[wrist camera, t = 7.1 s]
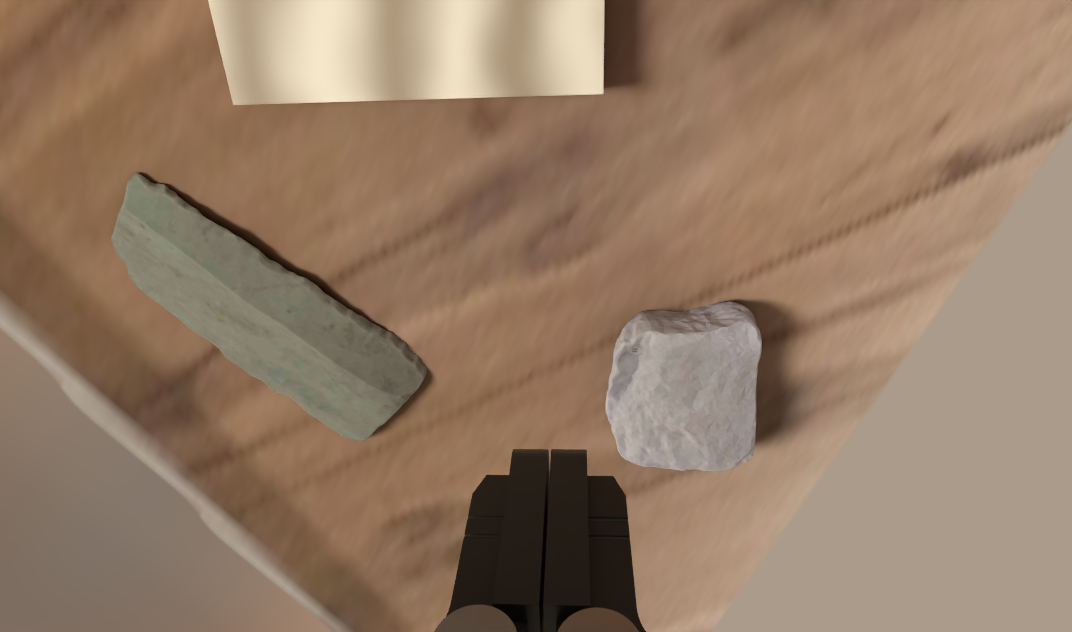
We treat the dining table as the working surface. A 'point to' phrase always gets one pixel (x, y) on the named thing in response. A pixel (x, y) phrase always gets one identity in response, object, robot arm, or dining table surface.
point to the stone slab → (264, 314)
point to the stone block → (686, 388)
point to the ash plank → (408, 49)
